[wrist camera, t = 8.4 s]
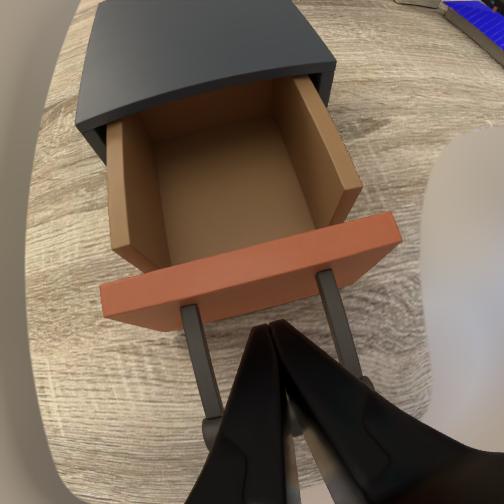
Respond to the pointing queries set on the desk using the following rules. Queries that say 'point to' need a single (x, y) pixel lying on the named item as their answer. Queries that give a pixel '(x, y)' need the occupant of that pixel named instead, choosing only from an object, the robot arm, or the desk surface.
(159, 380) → the desk surface
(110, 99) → the cabinet
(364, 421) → the robot arm
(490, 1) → the external hard drive
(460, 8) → the roof
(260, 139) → the drawer
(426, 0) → the white packaging box
